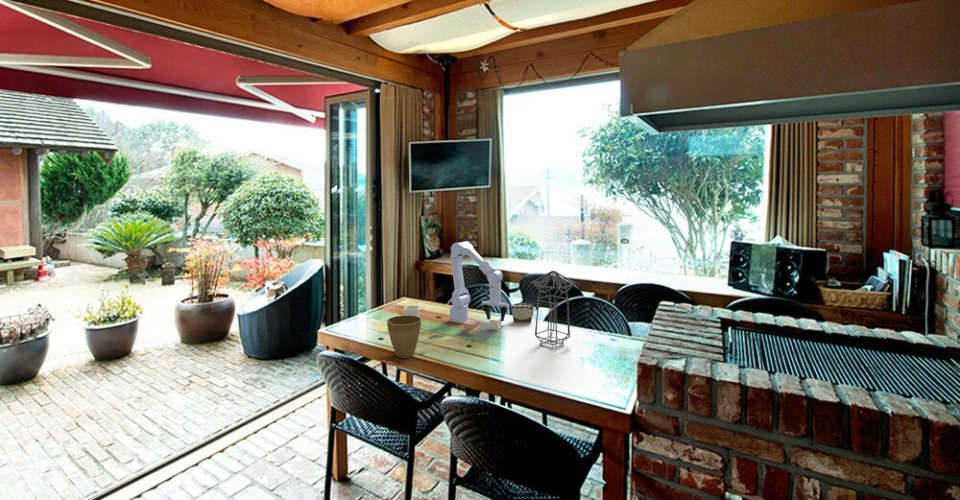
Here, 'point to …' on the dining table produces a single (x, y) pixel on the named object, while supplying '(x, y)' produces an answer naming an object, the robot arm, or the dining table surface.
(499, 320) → the top block
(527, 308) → the food container
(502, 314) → the robot arm
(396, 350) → the plant pot
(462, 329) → the bottom slab
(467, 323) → the middle block
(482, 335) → the mat
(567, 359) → the dining table surface
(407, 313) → the dixie cup
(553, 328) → the geometric lantern
